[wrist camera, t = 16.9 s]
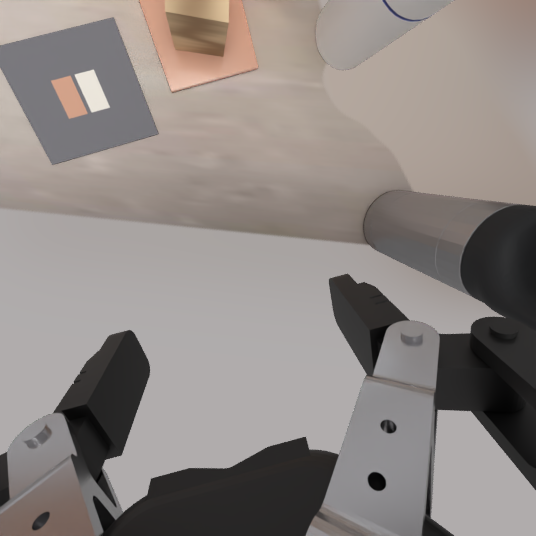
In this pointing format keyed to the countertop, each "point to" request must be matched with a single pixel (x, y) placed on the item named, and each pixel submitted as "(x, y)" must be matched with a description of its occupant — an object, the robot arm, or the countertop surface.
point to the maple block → (198, 25)
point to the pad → (196, 64)
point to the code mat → (78, 90)
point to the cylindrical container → (367, 27)
